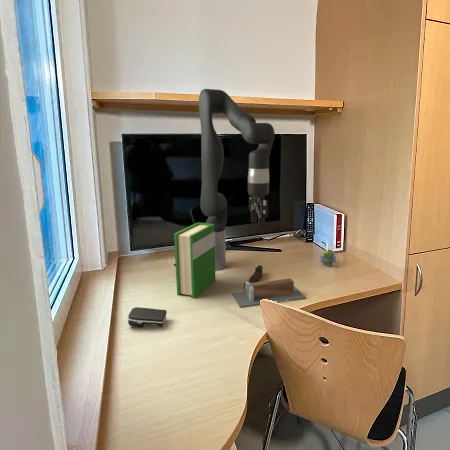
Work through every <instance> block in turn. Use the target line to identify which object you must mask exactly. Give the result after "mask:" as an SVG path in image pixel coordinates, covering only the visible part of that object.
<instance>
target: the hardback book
mask: <svg viewBox="0 0 450 450" xmlns="http://www.w3.org/2000/svg"><path fill="white" fill-rule="evenodd" d="M173 239H174V241H173V242H174V259H175V261H174V262H175V275H176V276H175V277H176V279H175V281H176V282H175V283H176V295H177V296H181V295H187V296H192V297H191V299H196V298H197V297H198V296H199V295H201V294H202V293H203V292H204V291H205V290H206V289H208V288H209V287H211V285H212V284H213V283H215V282H216V270H215V232H214V224H208V223H206V222H196V223H194V224H192V225H190V226H186V227H185V228H183V229H181V230H179V231H177V232H175V233H173Z"/></svg>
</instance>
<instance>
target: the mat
mask: <svg viewBox="0 0 450 450" xmlns="http://www.w3.org/2000/svg"><path fill="white" fill-rule="evenodd" d="M231 295H232V297H233V299H234V300H235V302H236V303H237V305H238V306H239V308H246V307H255V306H261V305H260V300H262V299H268V300H272V301H278V303H281V302H280V301H285V300H293V301H295V300H294V299H300V300H306V299H307V297H306V296H305V295H304V294H303V293H302V292H301V291H300V290H299V289H298V288H297V287H296V286H295V285H294V289H293V294H289V295H281V296H274V297H266V298H258V299H254V301H251V302H250V300H249V299H248V297H247V296H246V295H245V291H236V292H232V293H231ZM305 298H306V299H305Z"/></svg>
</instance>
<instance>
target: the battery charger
mask: <svg viewBox="0 0 450 450" xmlns="http://www.w3.org/2000/svg"><path fill="white" fill-rule="evenodd" d="M167 312H168V311H167V309H160V308H159V309H158V308H152V307H151V308H150V307H139V306H138V307H137V306H136V307H133V308H132V309H131V310H130V311H129V314H128V316H127V321H128V325H129V326H130V327H132V328H139V329H140V328H142V329H143V328H145V326H146V325H156V326H157V327H160V328H163V327H164V326H165V323H166V319H167V314H168V313H167Z"/></svg>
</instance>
